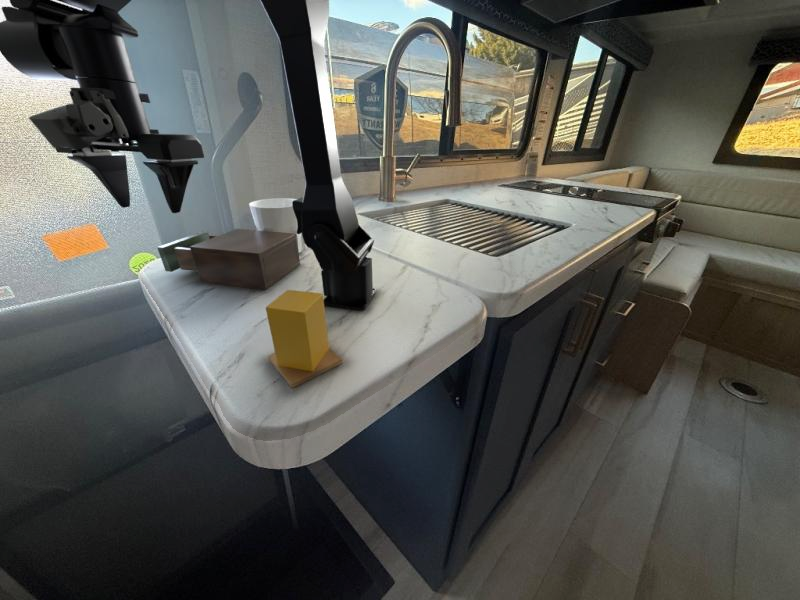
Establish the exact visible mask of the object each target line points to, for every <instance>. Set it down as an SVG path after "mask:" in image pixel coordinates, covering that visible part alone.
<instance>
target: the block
mask: <svg viewBox="0 0 800 600" xmlns="http://www.w3.org/2000/svg"><path fill="white" fill-rule="evenodd" d="M265 311H266V312H265V313H266V316H267V322H268V326H269V331H270V335H271V340H272V344H273V349H274V353H275V354H276V359H277V364H278V366H283V367H289V368H295V369H301V370H307V371H314V369H315V368H316V366H317V365H318V364H319V362H320V361H321V359H322V358H323V356H324V355H325V354H326V352H327V351H328V349H329V348H330V347H329V336H328V328H327V319H326V318H327V317H326V309H325V305H324V293H320V292H312V291H303V290H297V289H296V290H295V289H286V290H285V291H284V292H282V293H281V294H280V295H279V296H278V297H276V298H275V299H274V300H272V301H271V302H270V303H269V304H268V305H266V307H265Z"/></svg>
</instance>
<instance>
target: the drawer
mask: <svg viewBox="0 0 800 600" xmlns="http://www.w3.org/2000/svg"><path fill="white" fill-rule="evenodd" d="M219 235H220V234H213V233H212V234H210V233H209V231H204V230H203V231H200V232H197V233H194V234H191V235H188V236H186V237H182V238H179V239H176V240H174V241H171V242H167V243H165V244H162V245H159V246H157V247H156V248H157V251H158V254H159V256H160V260H161V262H162V265H163V268H164V271H165V272H168V273H172V272H174V271H177V270H179V269H180V270H181V271H189V272H190V271H191V272H198V271H197V268H196V265H195V262H194V259H193V255H192V251H191V249H190V246H193V245H196V244H198V243H201V242H204V241H206V240H209V239H211V238H214V237H217V236H219Z"/></svg>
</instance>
